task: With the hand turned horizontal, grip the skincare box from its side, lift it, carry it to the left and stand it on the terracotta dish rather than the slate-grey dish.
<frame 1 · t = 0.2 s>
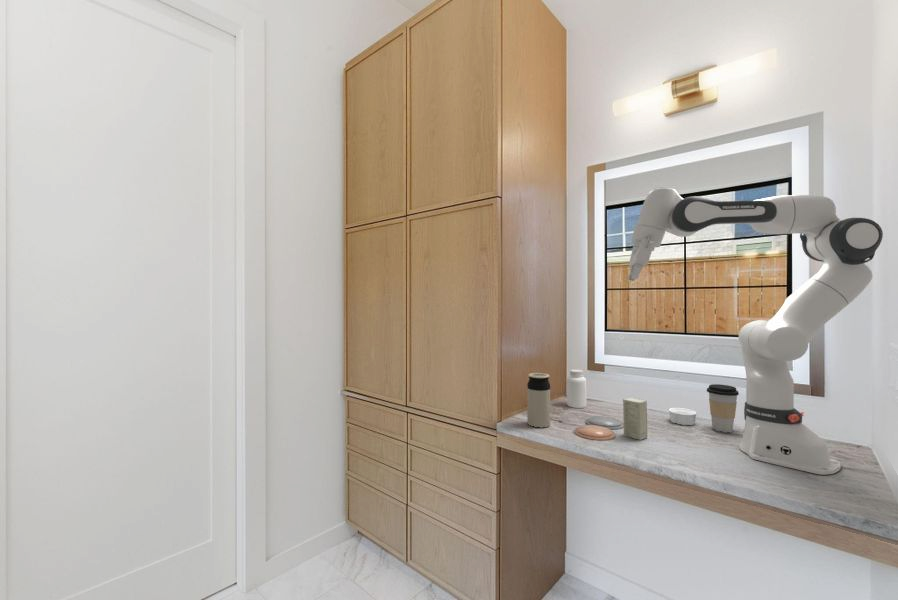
hand: (632, 279, 134), 52 cm above the counter, tool tilted 20°, fingers open, 8 cm apart
travel mug: (538, 425, 149), on the counter
slate dish: (604, 423, 151), on the counter
terracotta dish: (594, 433, 140), on the counter
ramekin: (682, 423, 153), on the counter
coffee cup: (722, 430, 144), on the counter
skincare box: (635, 437, 137), on the counter
pill bottle: (576, 406, 175), on the counter
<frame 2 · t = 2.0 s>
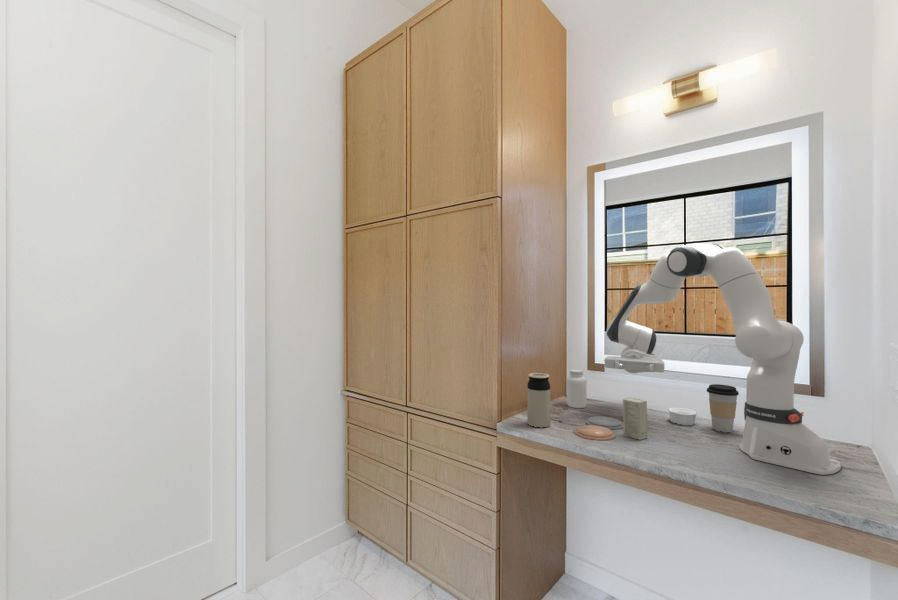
hand: (634, 367, 148), 21 cm above the counter, tool horizontal, fingers open, 8 cm apart
nothing on the counter moved.
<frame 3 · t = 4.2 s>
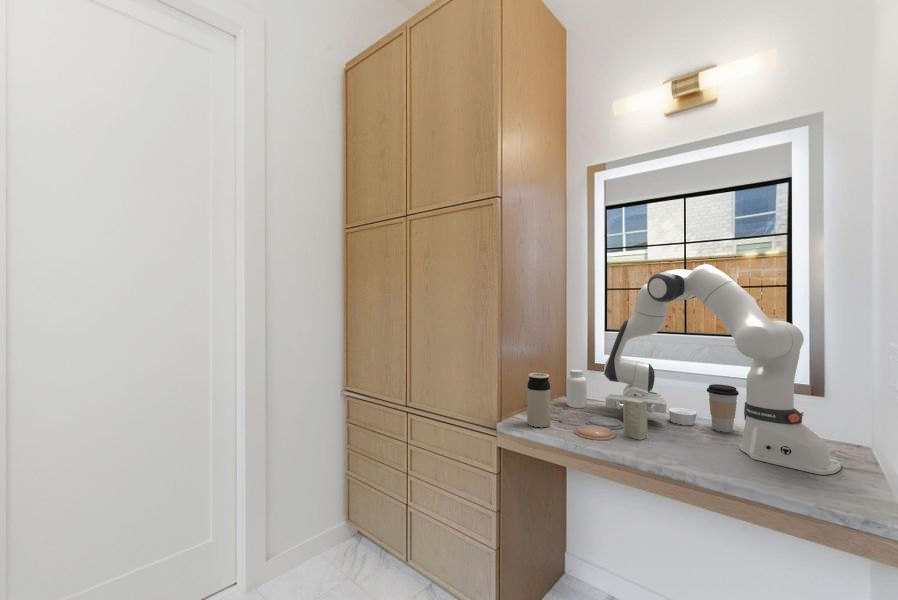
hand: (635, 408, 146), 7 cm above the counter, tool horizontal, fingers open, 8 cm apart
nothing on the counter moved.
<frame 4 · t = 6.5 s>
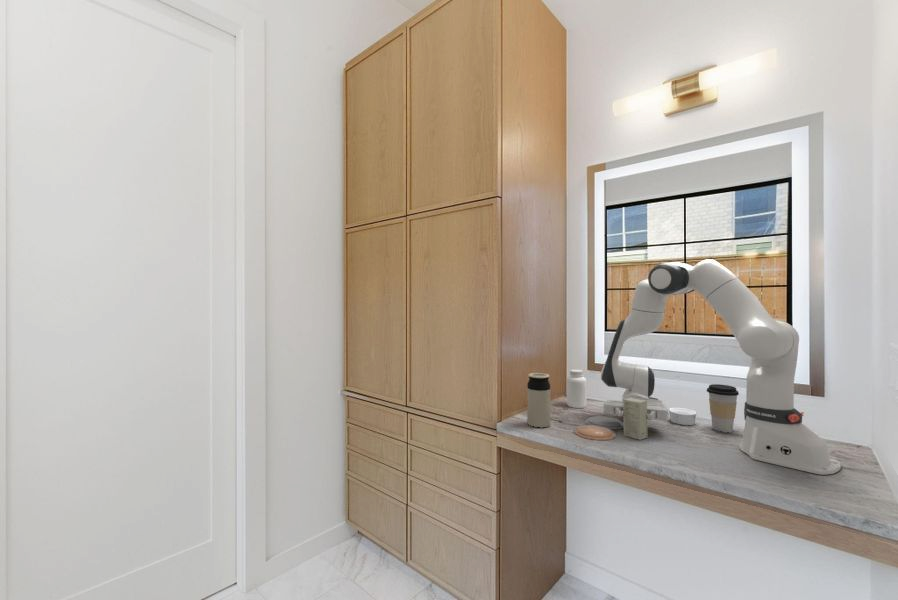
hand: (635, 415, 136), 7 cm above the counter, tool horizontal, fingers closed on skincare box, 7 cm apart
skincare box: (634, 437, 137), on the counter, touching gripper
everything else where it was.
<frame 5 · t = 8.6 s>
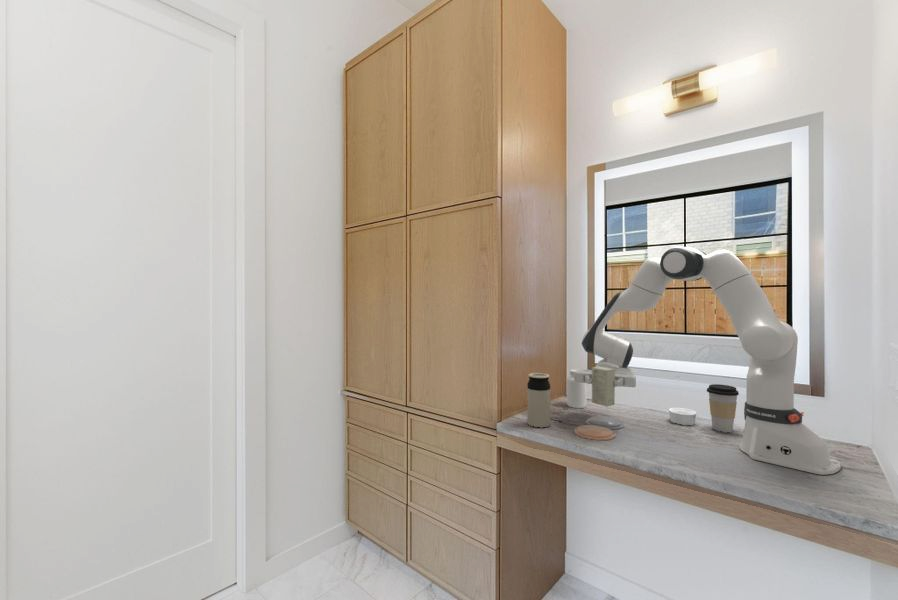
hand: (602, 382, 139), 17 cm above the counter, tool horizontal, fingers closed on skincare box, 7 cm apart
skincare box: (602, 404, 140), point 10 cm above the counter, touching gripper
everything else where it was.
when the fingers open (9 cm above the counter, at t = 10.9 s): skincare box stays where it is, resting on terracotta dish.
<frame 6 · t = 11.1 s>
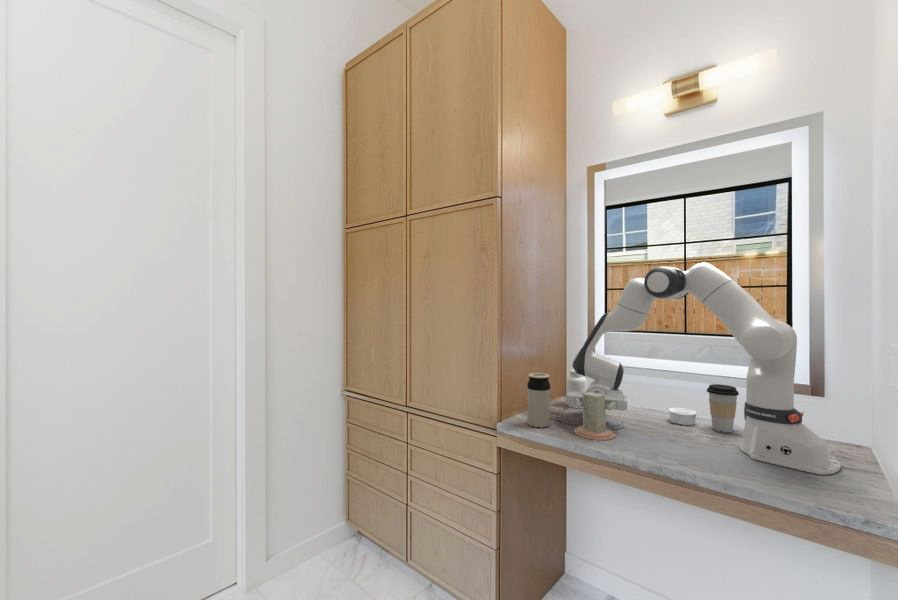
hand: (594, 406, 139), 9 cm above the counter, tool horizontal, fingers open, 8 cm apart
skincare box: (593, 430, 140), point 1 cm above the counter, touching terracotta dish
everything else where it was.
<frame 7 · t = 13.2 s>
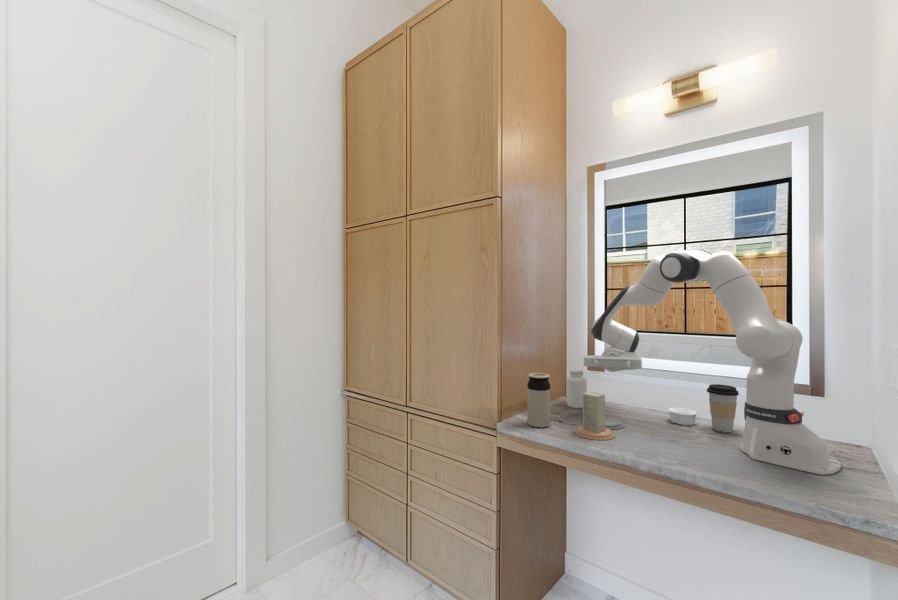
hand: (611, 364, 150), 22 cm above the counter, tool horizontal, fingers open, 8 cm apart
nothing on the counter moved.
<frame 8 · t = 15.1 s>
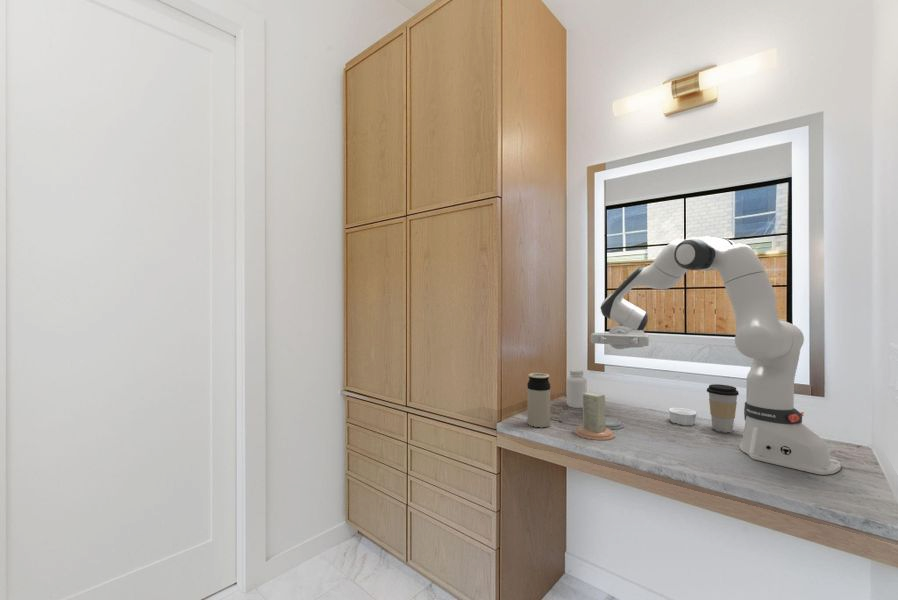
hand: (618, 341, 151), 30 cm above the counter, tool horizontal, fingers open, 8 cm apart
nothing on the counter moved.
at the end: skincare box 0.2 cm from the terracotta dish (horizontally); skincare box tilted 0°; the gripper is holding nothing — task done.
